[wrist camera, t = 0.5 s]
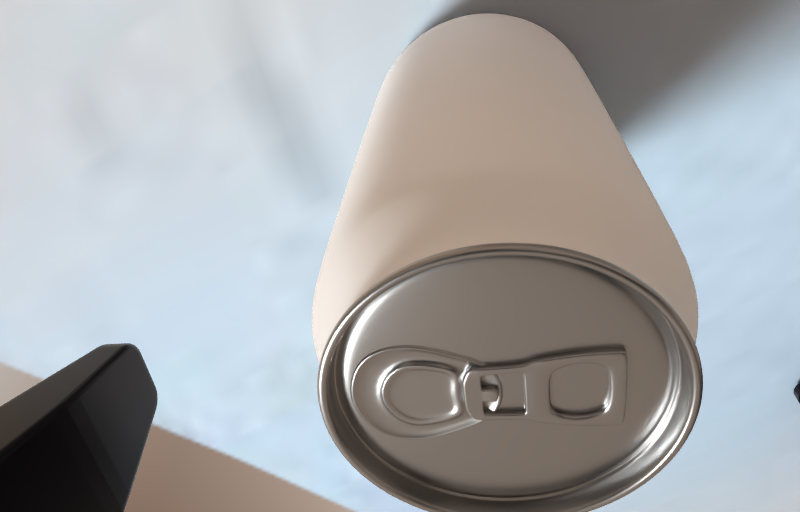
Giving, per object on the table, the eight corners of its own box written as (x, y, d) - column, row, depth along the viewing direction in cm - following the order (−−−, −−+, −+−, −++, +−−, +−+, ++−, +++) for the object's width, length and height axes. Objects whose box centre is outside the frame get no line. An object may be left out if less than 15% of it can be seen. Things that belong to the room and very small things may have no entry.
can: (359, 24, 18) (236, 238, 8) (592, -6, 17) (773, 194, 7) (392, 220, 22) (334, 543, 12) (589, 204, 21) (710, 538, 11)
